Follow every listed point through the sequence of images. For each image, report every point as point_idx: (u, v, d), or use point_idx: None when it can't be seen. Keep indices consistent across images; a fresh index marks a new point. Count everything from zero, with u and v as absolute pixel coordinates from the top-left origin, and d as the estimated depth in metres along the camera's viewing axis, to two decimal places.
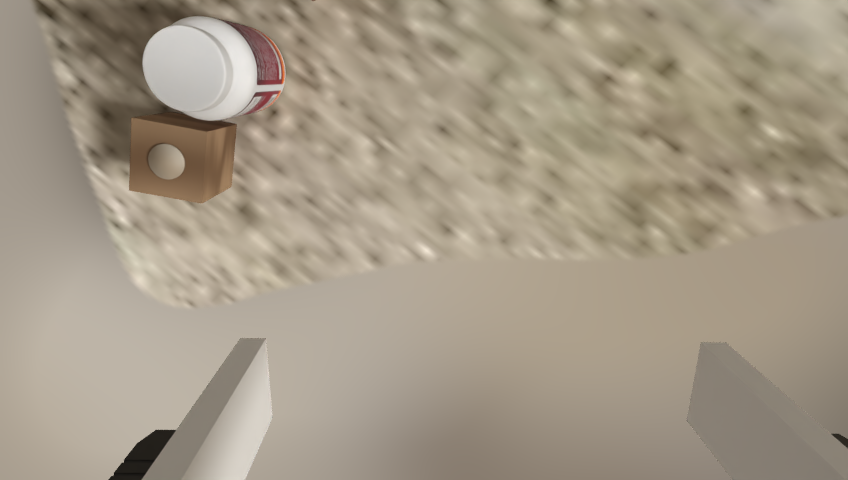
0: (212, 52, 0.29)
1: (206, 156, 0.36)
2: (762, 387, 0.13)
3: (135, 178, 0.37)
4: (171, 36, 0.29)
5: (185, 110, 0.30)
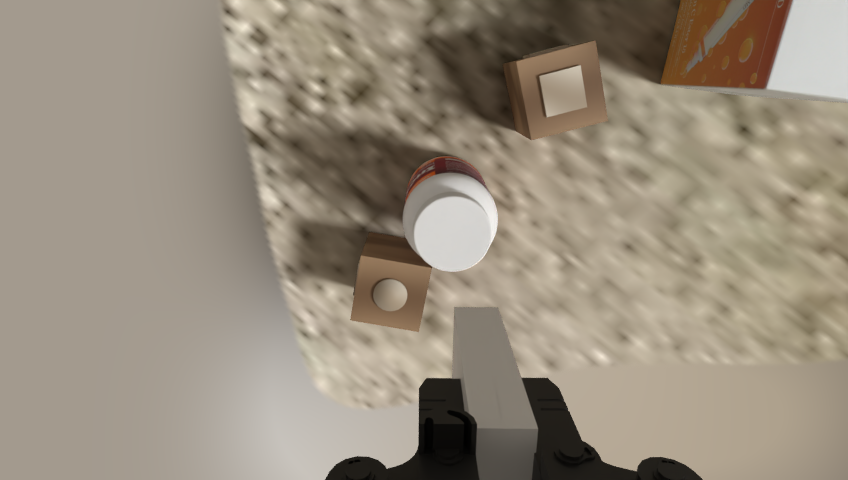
0: (482, 220, 0.31)
1: None
2: (495, 340, 0.16)
3: (357, 309, 0.38)
4: (445, 206, 0.31)
5: (448, 270, 0.32)
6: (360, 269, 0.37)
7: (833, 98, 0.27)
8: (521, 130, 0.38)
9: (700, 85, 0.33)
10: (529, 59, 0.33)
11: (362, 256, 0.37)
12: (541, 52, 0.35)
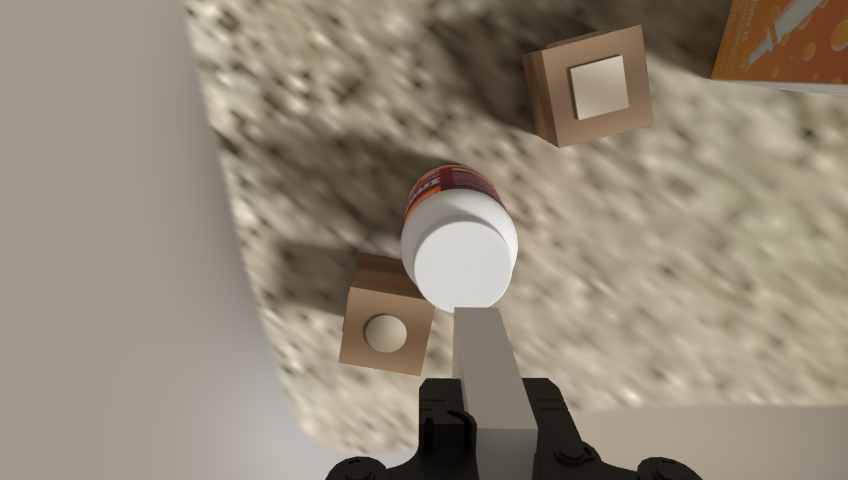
0: (500, 251, 0.25)
1: (430, 326, 0.32)
2: (495, 340, 0.16)
3: (347, 350, 0.32)
4: (453, 233, 0.24)
5: None
6: (350, 303, 0.31)
7: None
8: (544, 135, 0.31)
9: (770, 80, 0.27)
10: (558, 48, 0.27)
11: (352, 288, 0.31)
12: (571, 39, 0.28)
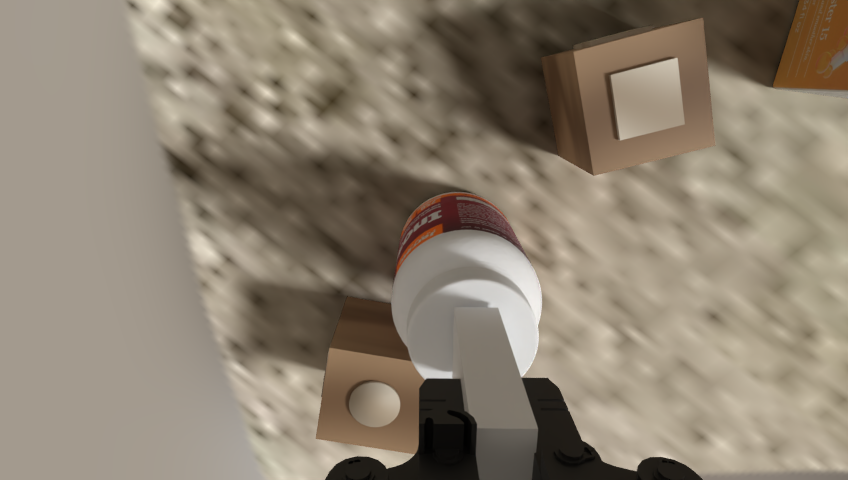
0: (523, 318, 0.18)
1: None
2: (495, 340, 0.16)
3: (326, 424, 0.26)
4: (461, 295, 0.18)
5: None
6: (329, 367, 0.25)
7: None
8: (571, 156, 0.25)
9: None
10: (594, 48, 0.21)
11: (332, 349, 0.24)
12: (609, 38, 0.22)
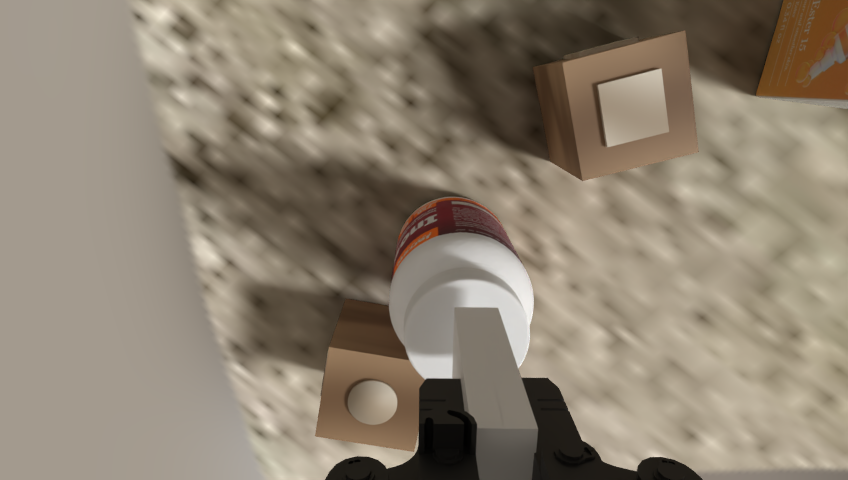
0: (514, 316, 0.19)
1: None
2: (495, 340, 0.16)
3: (325, 422, 0.26)
4: (455, 294, 0.19)
5: None
6: (328, 366, 0.25)
7: None
8: (561, 162, 0.26)
9: (842, 98, 0.22)
10: (582, 59, 0.22)
11: (331, 348, 0.25)
12: (597, 49, 0.23)
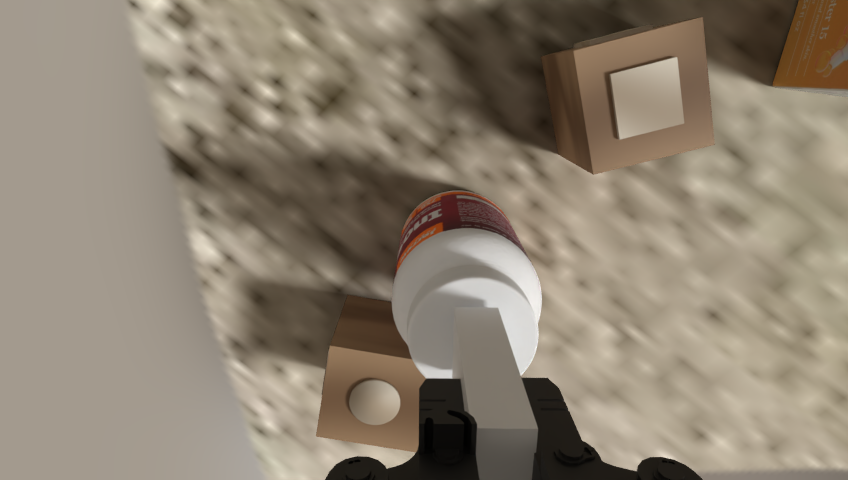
0: (523, 315, 0.18)
1: None
2: (495, 340, 0.16)
3: (326, 421, 0.26)
4: (461, 293, 0.18)
5: None
6: (329, 365, 0.25)
7: None
8: (570, 155, 0.25)
9: None
10: (594, 47, 0.21)
11: (332, 347, 0.24)
12: (609, 37, 0.22)
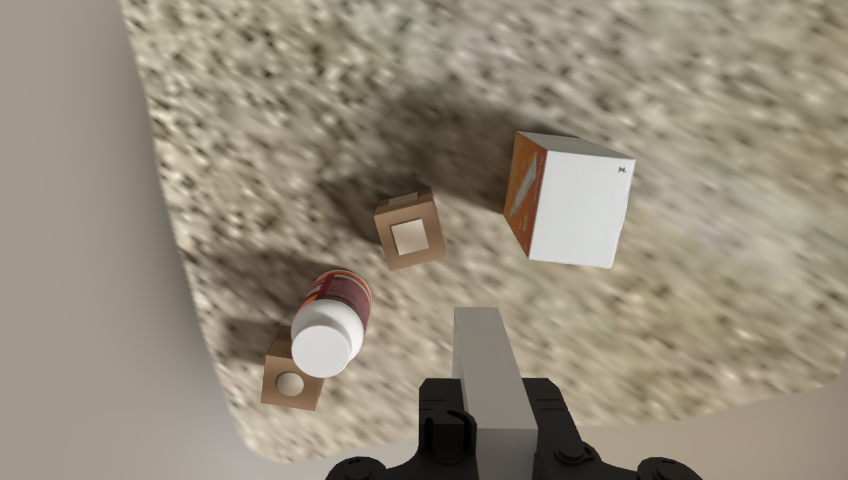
0: (341, 341, 0.42)
1: (319, 378, 0.49)
2: (495, 340, 0.16)
3: (266, 394, 0.49)
4: (313, 332, 0.42)
5: (319, 377, 0.43)
6: (266, 365, 0.48)
7: (577, 264, 0.38)
8: None
9: (513, 232, 0.44)
10: (383, 214, 0.44)
11: (267, 355, 0.48)
12: (397, 204, 0.46)
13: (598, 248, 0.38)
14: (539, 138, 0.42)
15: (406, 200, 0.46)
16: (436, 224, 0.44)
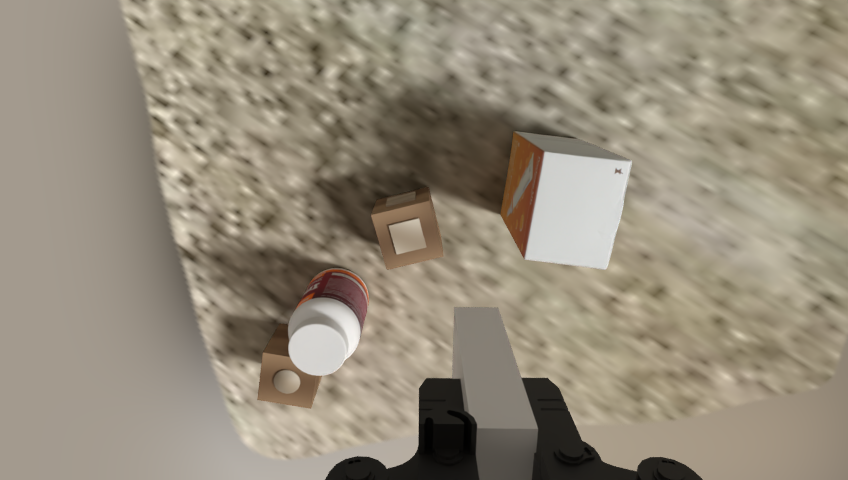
0: (338, 340, 0.42)
1: (315, 376, 0.49)
2: (495, 340, 0.16)
3: (262, 392, 0.49)
4: (310, 330, 0.42)
5: (316, 375, 0.43)
6: (263, 362, 0.48)
7: (573, 265, 0.38)
8: None
9: (510, 232, 0.45)
10: (380, 213, 0.44)
11: (264, 353, 0.48)
12: (394, 203, 0.46)
13: (593, 248, 0.38)
14: (536, 139, 0.43)
15: (404, 199, 0.46)
16: (433, 224, 0.45)
